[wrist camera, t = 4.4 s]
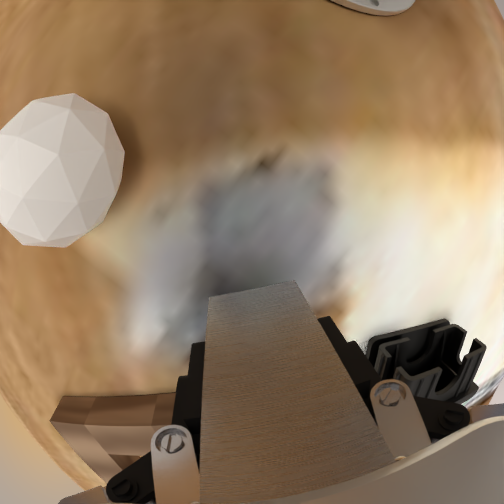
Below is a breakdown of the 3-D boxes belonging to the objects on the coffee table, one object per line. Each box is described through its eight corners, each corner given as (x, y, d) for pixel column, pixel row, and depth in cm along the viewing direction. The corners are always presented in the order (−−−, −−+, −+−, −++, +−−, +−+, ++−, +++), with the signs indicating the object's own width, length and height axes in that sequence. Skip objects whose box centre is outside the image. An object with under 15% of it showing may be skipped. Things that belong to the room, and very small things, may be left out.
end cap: (349, 401, 22) (380, 453, 15) (363, 337, 20) (408, 390, 13) (431, 374, 23) (467, 412, 16) (450, 316, 21) (496, 349, 14)
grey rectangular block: (209, 297, 13) (199, 521, 3) (294, 280, 13) (402, 475, 3) (227, 362, 14) (241, 547, 5) (301, 347, 14) (371, 518, 5)
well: (63, 396, 18) (49, 421, 15) (206, 388, 19) (205, 421, 16) (127, 475, 22) (123, 497, 19) (242, 471, 23) (246, 496, 20)
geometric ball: (103, 200, 18) (45, 293, 12) (35, 124, 13) (-46, 202, 8) (176, 149, 14) (102, 265, 9) (90, 45, 9) (-36, 114, 4)
